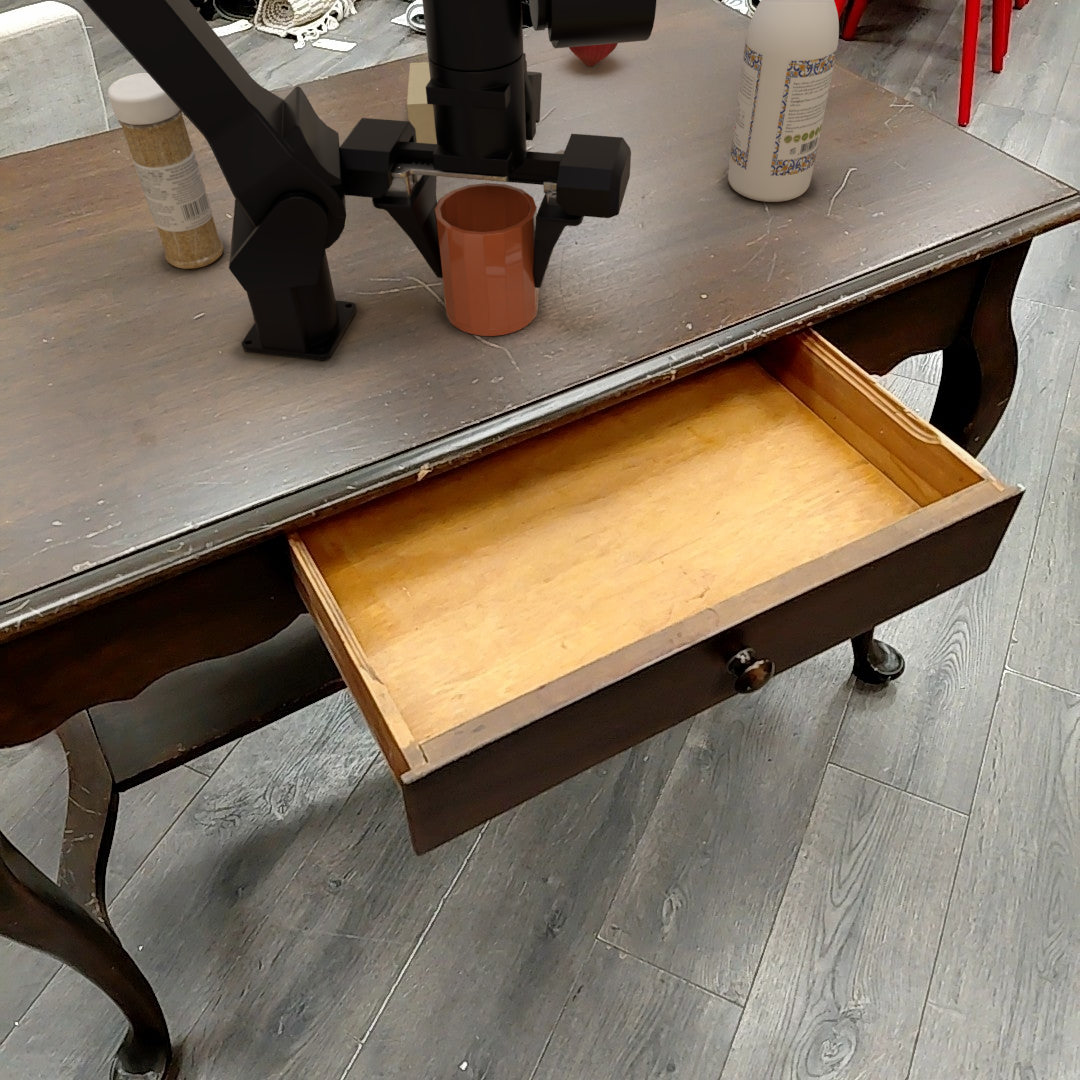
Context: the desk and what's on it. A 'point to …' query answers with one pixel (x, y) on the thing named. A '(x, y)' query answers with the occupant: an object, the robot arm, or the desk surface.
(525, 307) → the cup
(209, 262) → the sprinkles bottle
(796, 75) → the bath foam
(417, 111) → the stand
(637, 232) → the desk surface
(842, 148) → the desk surface
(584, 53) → the onion
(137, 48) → the robot arm
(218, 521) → the desk surface
